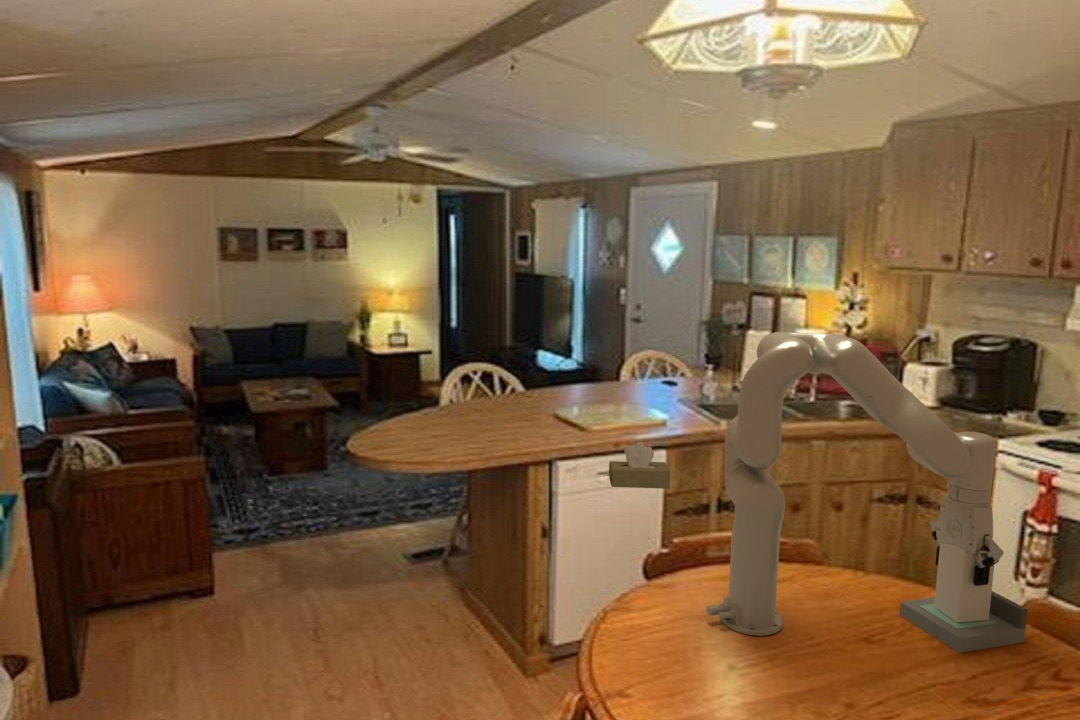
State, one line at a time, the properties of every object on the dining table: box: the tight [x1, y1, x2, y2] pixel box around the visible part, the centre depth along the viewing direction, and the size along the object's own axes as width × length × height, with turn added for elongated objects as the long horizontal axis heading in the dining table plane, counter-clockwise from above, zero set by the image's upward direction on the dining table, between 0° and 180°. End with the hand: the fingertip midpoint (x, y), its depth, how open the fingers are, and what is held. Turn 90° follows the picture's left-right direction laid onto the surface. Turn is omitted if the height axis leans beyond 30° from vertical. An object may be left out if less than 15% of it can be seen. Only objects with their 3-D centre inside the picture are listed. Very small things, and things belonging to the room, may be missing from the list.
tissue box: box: [608, 441, 671, 490], centre depth 246 cm, size 19×10×16 cm, turn 90°
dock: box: [899, 590, 1028, 654], centre depth 158 cm, size 16×16×7 cm
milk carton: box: [934, 541, 995, 622], centre depth 156 cm, size 7×7×19 cm
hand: (961, 574), depth 157 cm, fingers open, 9 cm apart
